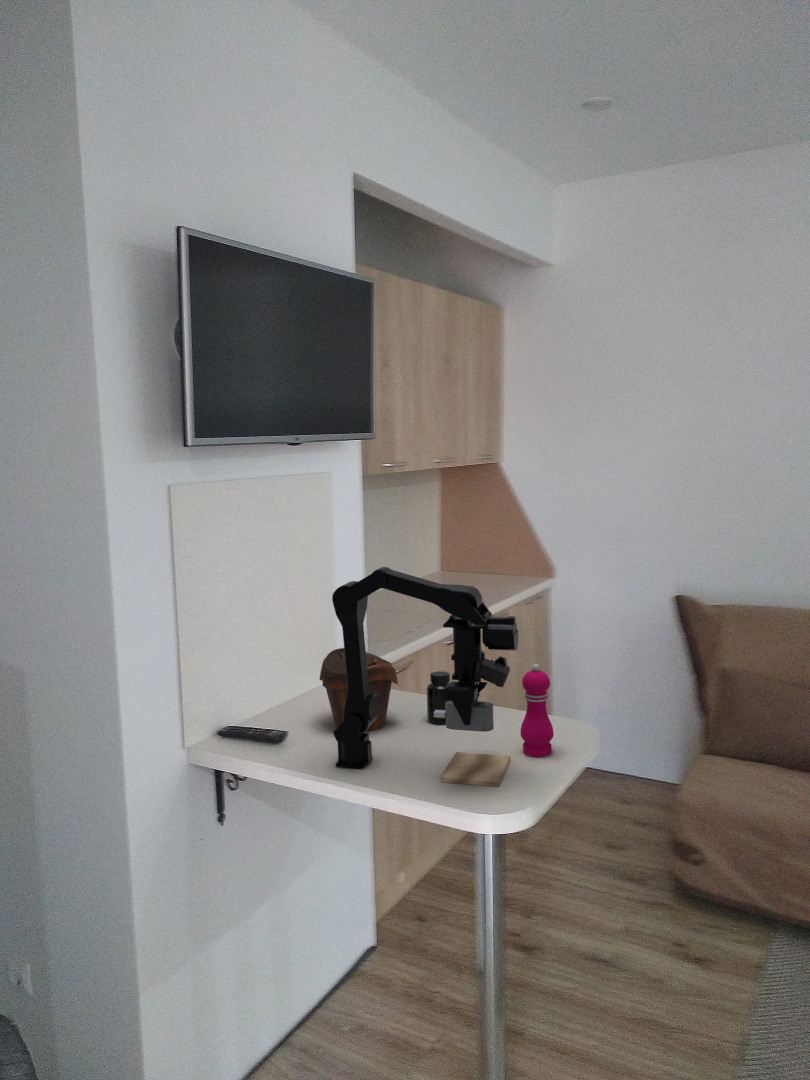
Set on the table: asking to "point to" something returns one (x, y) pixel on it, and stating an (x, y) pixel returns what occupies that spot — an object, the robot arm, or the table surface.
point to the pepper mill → (536, 714)
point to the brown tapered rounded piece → (337, 687)
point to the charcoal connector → (479, 717)
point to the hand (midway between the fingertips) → (469, 721)
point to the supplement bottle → (437, 695)
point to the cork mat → (476, 769)
